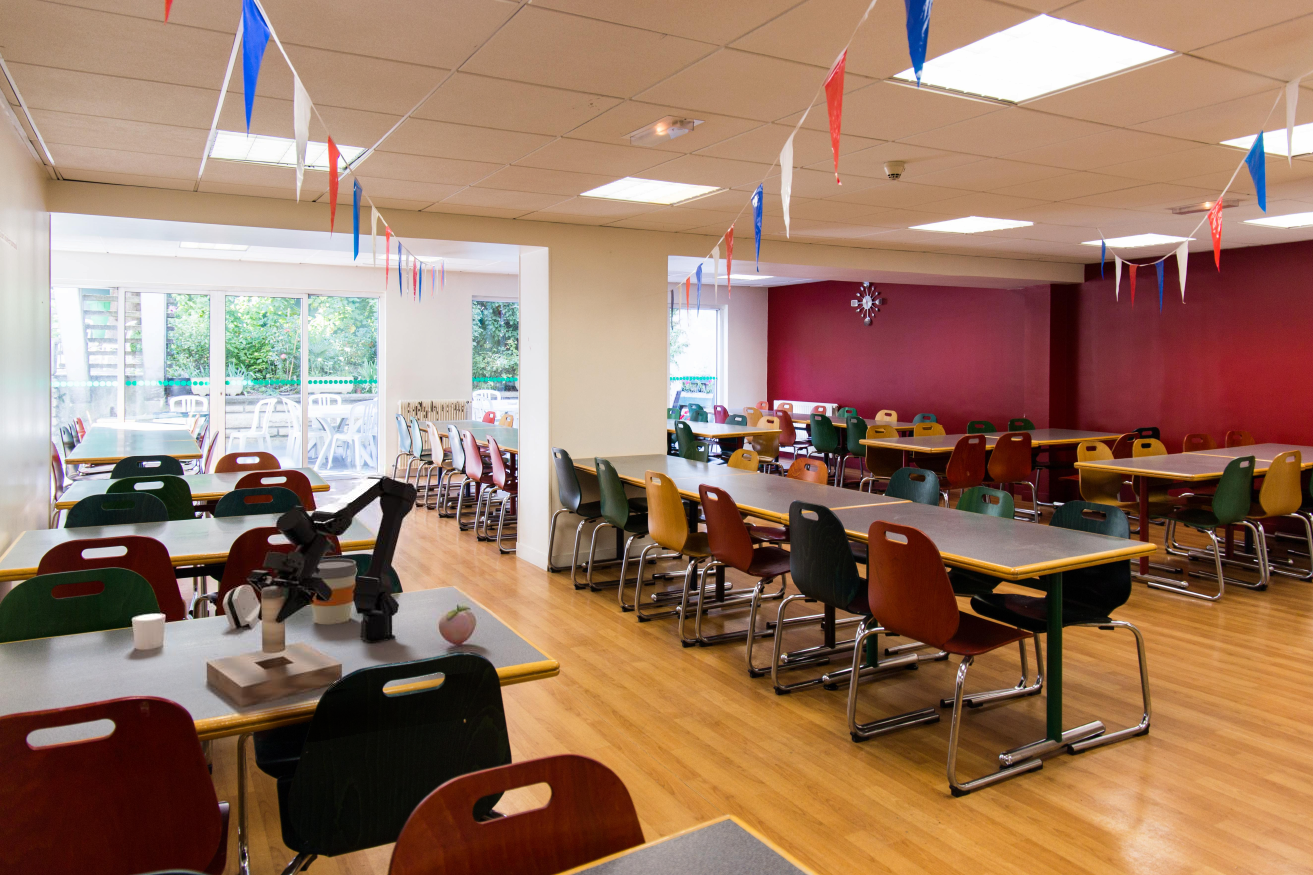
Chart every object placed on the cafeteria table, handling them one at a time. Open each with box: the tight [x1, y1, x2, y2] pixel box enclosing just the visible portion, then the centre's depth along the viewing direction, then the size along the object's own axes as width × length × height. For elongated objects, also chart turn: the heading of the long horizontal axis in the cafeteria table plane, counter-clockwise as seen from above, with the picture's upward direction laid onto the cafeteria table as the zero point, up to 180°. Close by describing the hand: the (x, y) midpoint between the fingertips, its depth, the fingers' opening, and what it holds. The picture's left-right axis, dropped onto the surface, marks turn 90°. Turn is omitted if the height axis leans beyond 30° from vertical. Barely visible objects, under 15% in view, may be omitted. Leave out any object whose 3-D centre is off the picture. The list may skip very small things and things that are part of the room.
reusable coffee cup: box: [311, 558, 358, 625], centre depth 225 cm, size 13×13×15 cm
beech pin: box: [260, 586, 286, 653], centre depth 178 cm, size 4×4×13 cm
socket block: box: [206, 641, 343, 708], centre depth 179 cm, size 20×20×4 cm
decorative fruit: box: [438, 604, 477, 646], centre depth 205 cm, size 9×8×10 cm
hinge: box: [222, 584, 261, 630], centre depth 223 cm, size 17×5×10 cm, turn 12°
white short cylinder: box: [131, 612, 166, 651], centre depth 201 cm, size 7×7×7 cm
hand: (268, 620), depth 177 cm, fingers closed on beech pin, 4 cm apart
